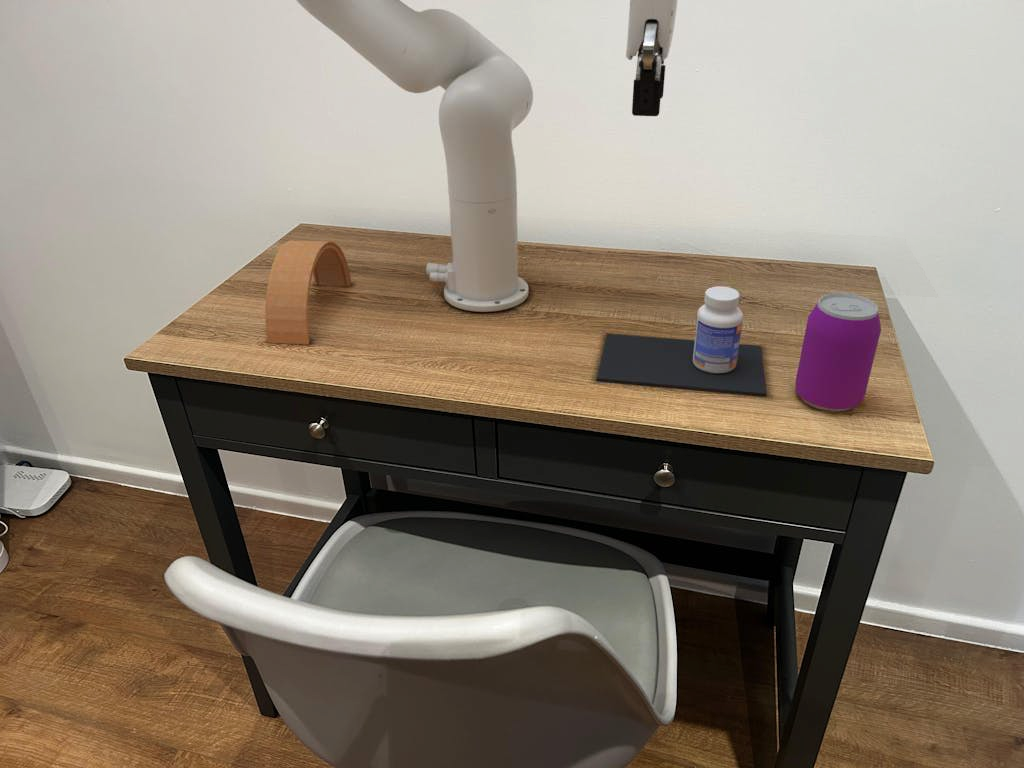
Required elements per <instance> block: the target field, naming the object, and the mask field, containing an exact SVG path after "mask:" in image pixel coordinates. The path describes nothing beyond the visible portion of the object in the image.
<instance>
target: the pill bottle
mask: <svg viewBox="0 0 1024 768" xmlns="http://www.w3.org/2000/svg"><path fill="white" fill-rule="evenodd" d="M703 301H704V304H703V305H701V306H700V307H699V308H698V309H697V313H696V325H695V333H694V335H695V336H694V340H695V344H694V353H693V363H694V365H695V366H696V367H697V368H698V369H700V370H703V371H705V372H709V373H718V374H720V373H727V372H730V371H732V370H733V369H734V368H735V367H736V364H737V358H738V351H739V344H741V337H742V327H743V321H744V314H743V311H742V310H741V309H740V308H739V303H740V292H739V290H736V288H735V289H734V288H732V287H729V286H719V285H718V286H712V287H709V288H707V289H706V290H705V293H704V298H703Z"/></svg>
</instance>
